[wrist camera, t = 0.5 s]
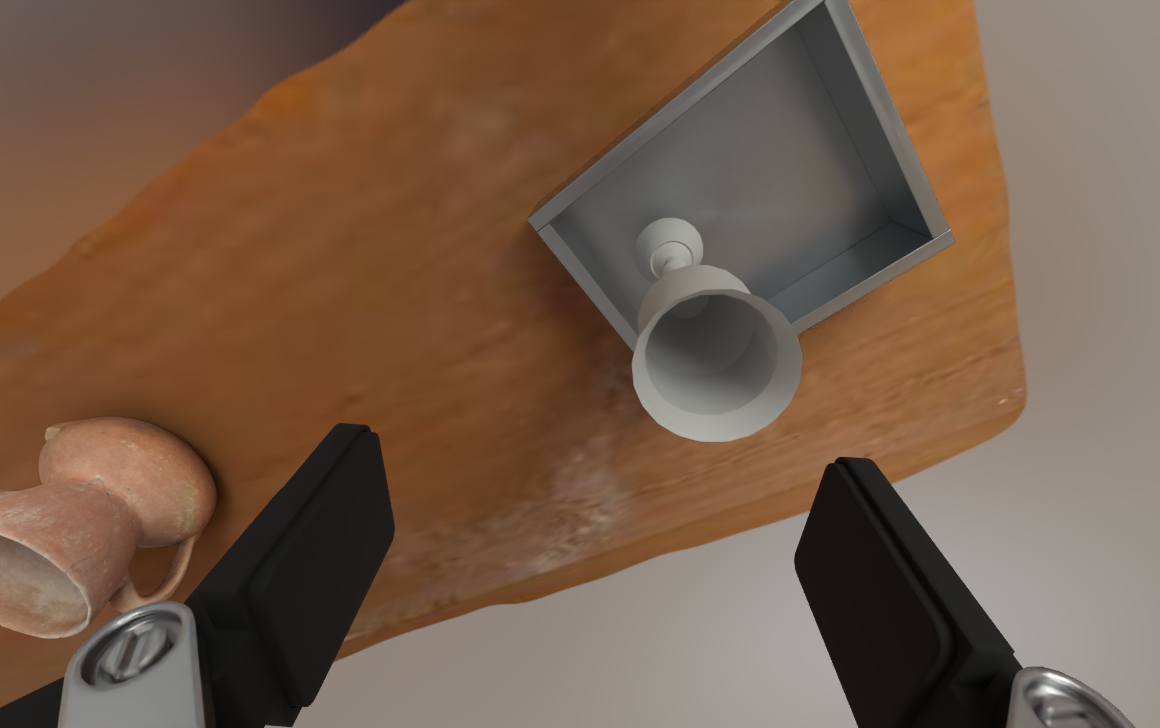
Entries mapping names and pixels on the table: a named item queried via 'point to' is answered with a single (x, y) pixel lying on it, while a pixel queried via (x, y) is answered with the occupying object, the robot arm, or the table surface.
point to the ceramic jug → (98, 522)
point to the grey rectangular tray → (759, 176)
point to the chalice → (707, 343)
